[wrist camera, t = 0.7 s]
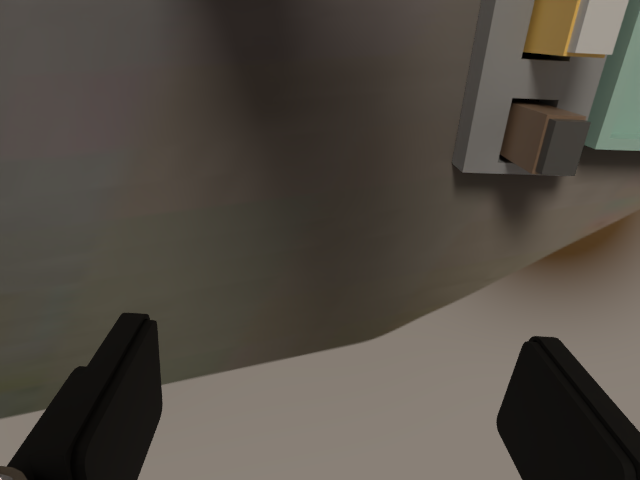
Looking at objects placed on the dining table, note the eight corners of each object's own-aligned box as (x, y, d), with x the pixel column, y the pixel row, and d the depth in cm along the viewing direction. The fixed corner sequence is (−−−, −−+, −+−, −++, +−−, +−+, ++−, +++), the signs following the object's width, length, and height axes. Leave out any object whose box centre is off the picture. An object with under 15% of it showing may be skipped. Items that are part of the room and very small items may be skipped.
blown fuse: (501, 99, 39) (554, 117, 31) (533, 100, 39) (594, 118, 31) (490, 148, 41) (537, 177, 33) (521, 149, 41) (576, 179, 33)
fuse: (525, -10, 36) (592, -21, 28) (560, -7, 36) (637, -18, 28) (512, 50, 38) (571, 56, 29) (545, 52, 38) (613, 58, 30)
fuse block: (487, -34, 35) (503, -39, 32) (607, -26, 35) (633, -31, 33) (451, 163, 42) (462, 172, 39) (553, 166, 42) (570, 175, 40)
